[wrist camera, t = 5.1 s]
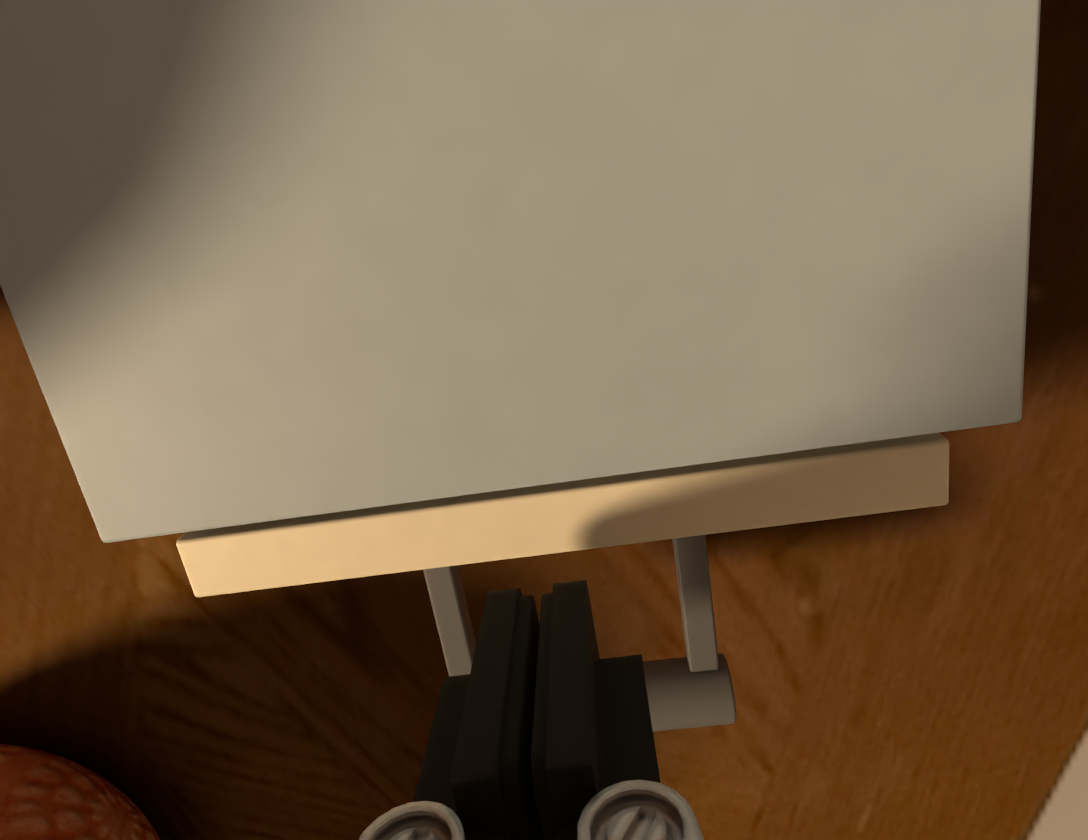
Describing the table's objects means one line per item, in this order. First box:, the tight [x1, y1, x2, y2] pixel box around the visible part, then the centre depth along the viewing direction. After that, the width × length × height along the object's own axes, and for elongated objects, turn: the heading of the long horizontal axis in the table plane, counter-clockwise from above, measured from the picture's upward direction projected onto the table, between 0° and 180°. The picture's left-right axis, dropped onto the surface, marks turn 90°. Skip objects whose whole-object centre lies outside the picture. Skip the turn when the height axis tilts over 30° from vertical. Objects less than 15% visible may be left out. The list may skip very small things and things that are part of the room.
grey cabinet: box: [0, 0, 1041, 543], centre depth 12 cm, size 15×15×7 cm
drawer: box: [176, 433, 949, 732], centre depth 14 cm, size 19×13×5 cm
